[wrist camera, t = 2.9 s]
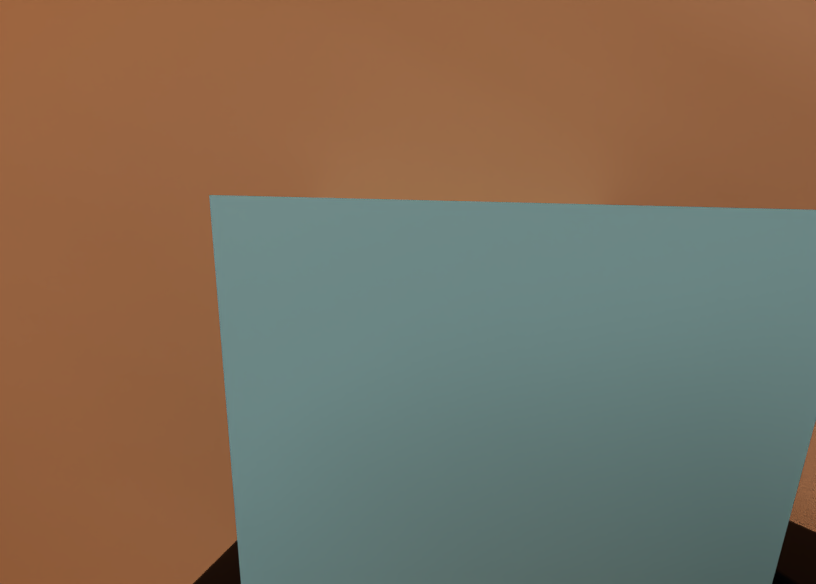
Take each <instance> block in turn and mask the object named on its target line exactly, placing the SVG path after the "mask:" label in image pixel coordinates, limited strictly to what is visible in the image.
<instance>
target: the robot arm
mask: <svg viewBox="0 0 816 584" xmlns="http://www.w3.org/2000/svg"><path fill="white" fill-rule="evenodd" d="M193 584H241V578H240V566H239V554H238V541H236V542H235V543H234V544H233V545H232V546H231V547H230V548H229V549H228V550H227V551H226V552H225V553H224V554H223V555H222V556H221V557H220V558H219V559H218V560H217V561H216V562H215V563H214V564H213V565H211V566H210V567H209V568H208V569H207V570H206V571H205V572H204V573H203V574H202V575H201V576H200V577H199V578H198V579H197V580H196V581H195V582H194V583H193ZM772 584H816V532H814V531H812V530H809V529H807V528H805V527H803V526H801V525H798V524H796V523H794V522H792V521H789V522H788V526H787V529H786V533H785V537H784V541H783V544H782V548H781V552H780V556H779V559H778V563H777V567H776V571H775V574H774V578H773V582H772Z"/></svg>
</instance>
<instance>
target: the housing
mask: <svg viewBox="0 0 816 584" xmlns="http://www.w3.org/2000/svg"><path fill="white" fill-rule="evenodd" d="M209 197H210V209H211V222H212V234H213V246H214V259H215V271H216V283H217V295H218V308H219V320H220V332H221V345H222V357H223V369H224V381H225V394H226V406H227V418H228V431H229V443H230V455H231V468H232V480H233V492H234V504H235V517H236V529H237V541H238V554H239V566H240V578H241V584H772V582H773V578H774V574H775V571H776V567H777V563H778V559H779V556H780V552H781V548H782V544H783V541H784V537H785V533H786V529H787V526H788V522H789V518H790V514H791V511H792V507H793V503H794V499H795V496H796V492H797V488H798V484H799V481H800V477H801V473H802V469H803V466H804V462H805V458H806V454H807V451H808V447H809V443H810V439H811V436H812V432H813V428H814V424H815V421H816V210H798V209H757V208H716V207H675V206H634V205H593V204H552V203H511V202H470V201H429V200H388V199H347V198H306V197H264V196H223V195H209Z"/></svg>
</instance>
